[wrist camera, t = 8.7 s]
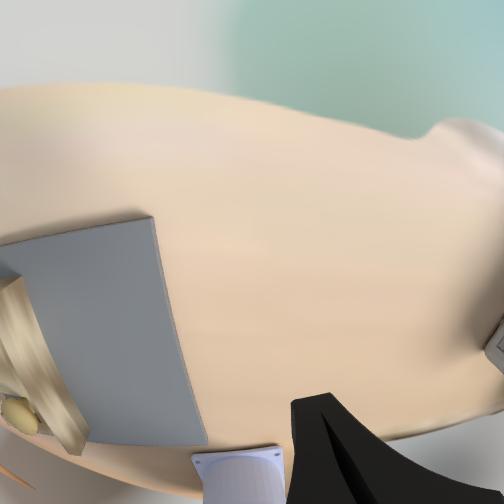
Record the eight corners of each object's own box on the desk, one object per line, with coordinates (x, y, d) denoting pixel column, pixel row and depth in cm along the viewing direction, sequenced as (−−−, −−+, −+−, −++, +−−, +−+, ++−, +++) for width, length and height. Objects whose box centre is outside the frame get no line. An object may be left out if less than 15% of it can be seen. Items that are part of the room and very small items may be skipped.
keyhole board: (207, 437, 21) (207, 473, 17) (31, 425, 20) (17, 449, 16) (153, 217, 16) (134, 230, 12) (-45, 257, 15) (-73, 271, 11)
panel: (90, 429, 19) (80, 456, 16) (13, 416, 18) (1, 436, 15) (22, 275, 15) (-5, 294, 12) (-49, 285, 14) (-71, 299, 11)
